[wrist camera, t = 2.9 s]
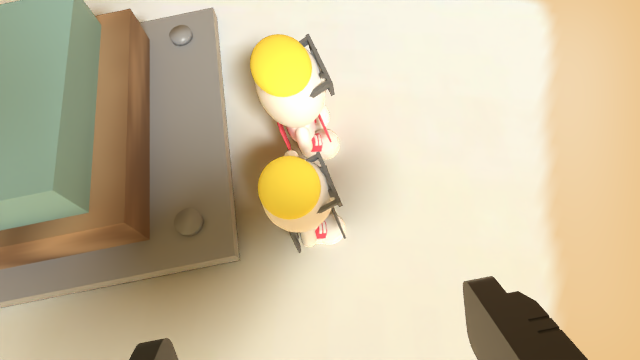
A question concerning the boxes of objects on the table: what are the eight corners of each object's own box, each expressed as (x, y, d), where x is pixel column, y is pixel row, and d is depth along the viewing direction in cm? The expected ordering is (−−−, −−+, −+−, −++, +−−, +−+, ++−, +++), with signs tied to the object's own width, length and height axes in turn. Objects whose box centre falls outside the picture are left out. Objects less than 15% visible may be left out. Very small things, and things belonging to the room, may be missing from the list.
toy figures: (352, 257, 25) (346, 202, 18) (278, 264, 25) (240, 214, 18) (334, 90, 30) (323, -7, 23) (272, 98, 31) (241, 4, 23)
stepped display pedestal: (-120, 331, 26) (-275, 314, 20) (-52, 73, 35) (-144, 3, 28) (239, 260, 26) (198, 219, 19) (216, 17, 34) (183, -65, 28)
